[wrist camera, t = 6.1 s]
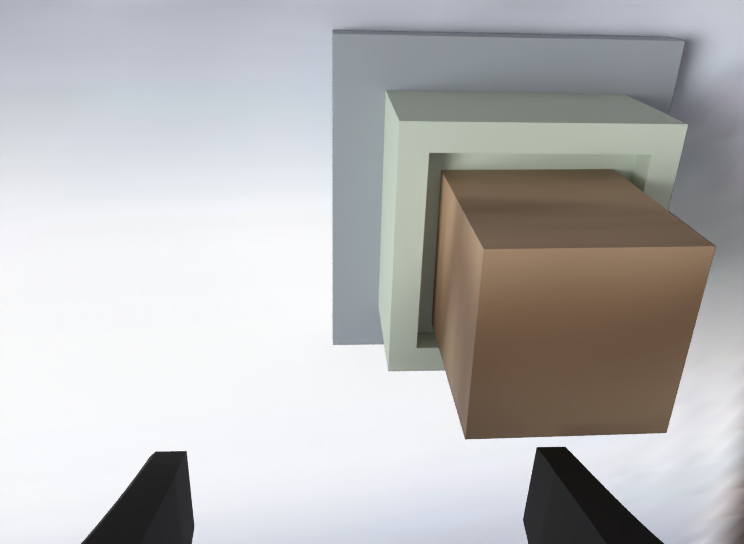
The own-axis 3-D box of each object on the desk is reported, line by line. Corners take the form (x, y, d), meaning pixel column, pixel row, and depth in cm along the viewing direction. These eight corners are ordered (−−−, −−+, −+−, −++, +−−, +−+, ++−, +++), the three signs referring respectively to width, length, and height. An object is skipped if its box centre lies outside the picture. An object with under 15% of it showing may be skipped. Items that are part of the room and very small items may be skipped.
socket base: (607, 326, 24) (669, 408, 20) (332, 329, 23) (334, 415, 19) (668, 36, 20) (765, 60, 15) (332, 30, 19) (335, 53, 15)
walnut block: (585, 319, 19) (666, 432, 15) (431, 322, 19) (465, 439, 14) (612, 169, 17) (716, 246, 13) (441, 169, 17) (483, 248, 12)
